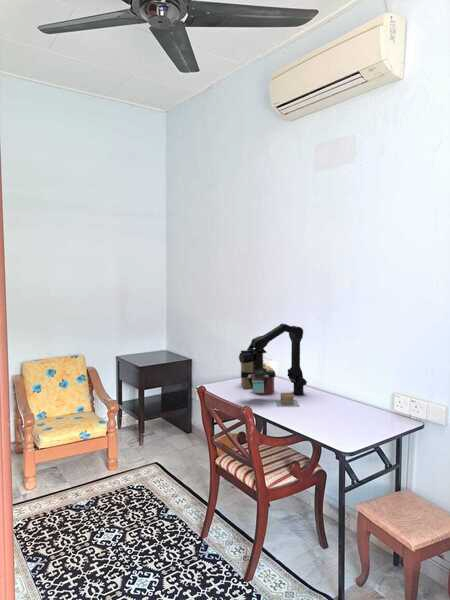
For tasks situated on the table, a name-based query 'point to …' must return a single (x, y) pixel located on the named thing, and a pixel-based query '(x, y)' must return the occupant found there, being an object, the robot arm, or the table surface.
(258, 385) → the teal block
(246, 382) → the wooden block
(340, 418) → the table surface
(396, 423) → the table surface
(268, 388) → the canister
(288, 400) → the walnut block
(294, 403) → the mat
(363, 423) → the table surface
